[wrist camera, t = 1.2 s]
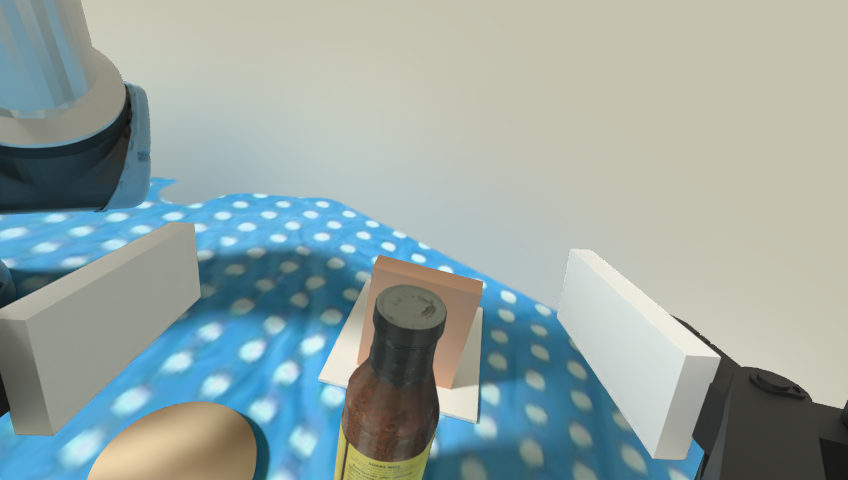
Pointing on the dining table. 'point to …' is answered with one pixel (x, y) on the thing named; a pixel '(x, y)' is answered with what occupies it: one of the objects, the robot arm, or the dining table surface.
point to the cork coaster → (181, 446)
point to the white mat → (452, 401)
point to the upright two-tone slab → (453, 291)
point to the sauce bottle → (394, 391)
